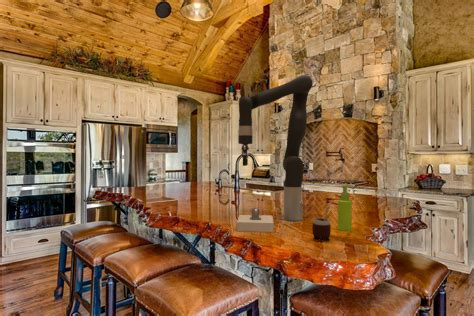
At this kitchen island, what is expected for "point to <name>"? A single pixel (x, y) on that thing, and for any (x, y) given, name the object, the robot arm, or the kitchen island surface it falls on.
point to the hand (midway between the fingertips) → (245, 165)
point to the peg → (254, 214)
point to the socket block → (255, 223)
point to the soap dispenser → (345, 211)
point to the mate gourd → (321, 228)
